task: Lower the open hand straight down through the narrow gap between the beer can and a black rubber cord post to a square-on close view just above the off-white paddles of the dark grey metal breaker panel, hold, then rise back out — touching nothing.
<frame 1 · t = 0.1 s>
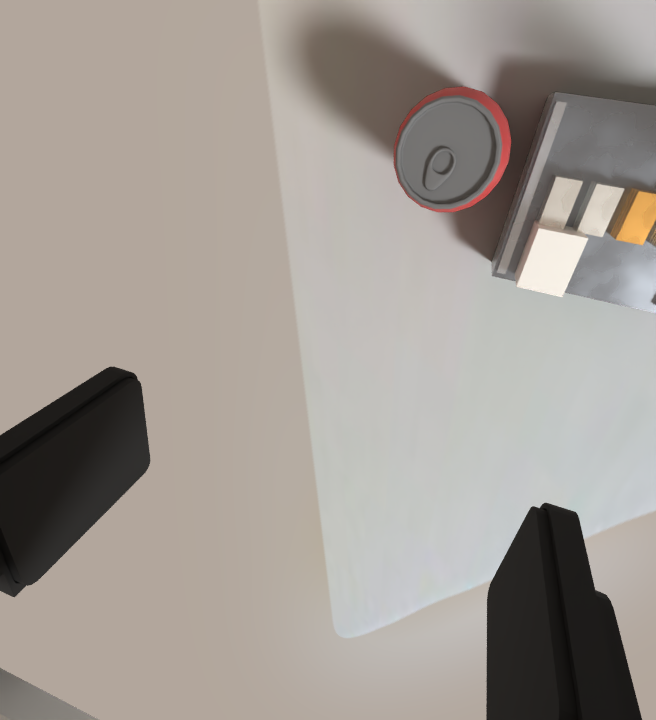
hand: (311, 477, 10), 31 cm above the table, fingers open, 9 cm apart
white block: (545, 252, 31), point 4 cm above the table, touching breaker panel
beer can: (459, 146, 33), on the table
breaker panel: (601, 201, 32), on the table
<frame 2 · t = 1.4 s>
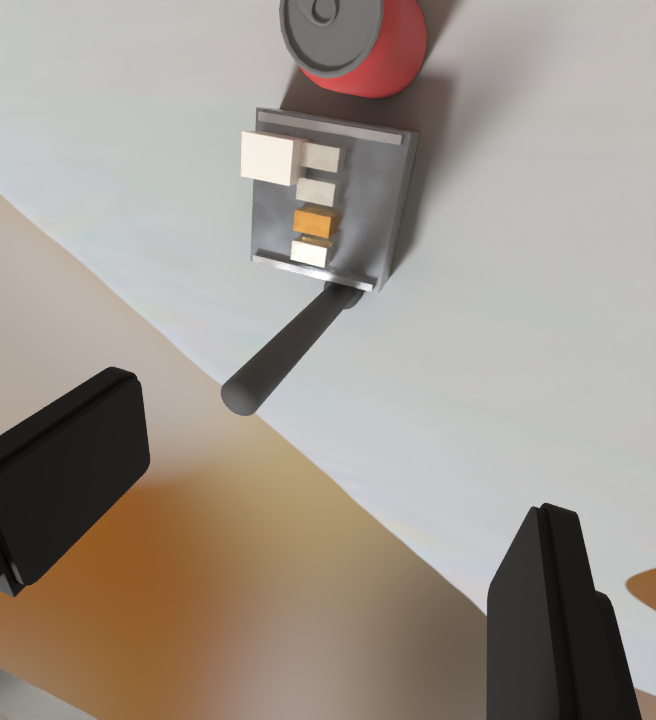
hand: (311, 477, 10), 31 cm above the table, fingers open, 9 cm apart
white block: (283, 156, 34), point 4 cm above the table, touching breaker panel
beer can: (383, 47, 32), on the table
cord post: (344, 288, 41), on the table
breaker panel: (336, 197, 38), on the table
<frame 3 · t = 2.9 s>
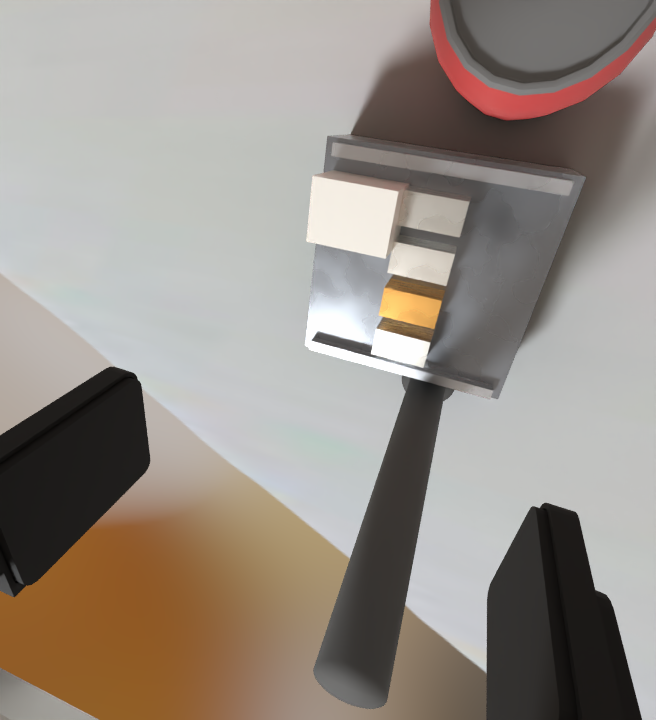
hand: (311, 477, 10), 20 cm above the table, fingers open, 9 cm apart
white block: (365, 207, 22), point 4 cm above the table, touching breaker panel
beer can: (525, 42, 21), on the table
cord post: (429, 375, 30), on the table
breaker panel: (428, 258, 26), on the table
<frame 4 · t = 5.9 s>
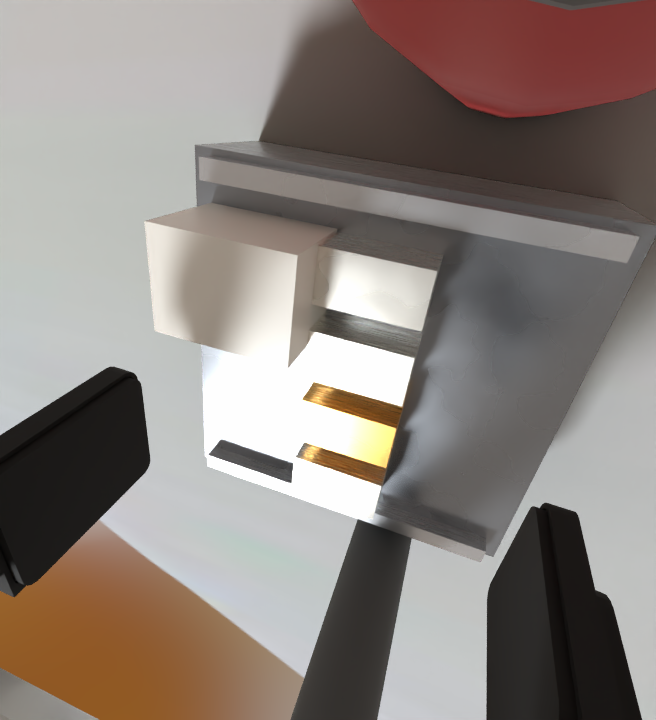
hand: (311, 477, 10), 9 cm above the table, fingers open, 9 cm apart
white block: (269, 265, 13), point 4 cm above the table, touching breaker panel
cord post: (395, 484, 21), on the table
breaker panel: (387, 328, 17), on the table
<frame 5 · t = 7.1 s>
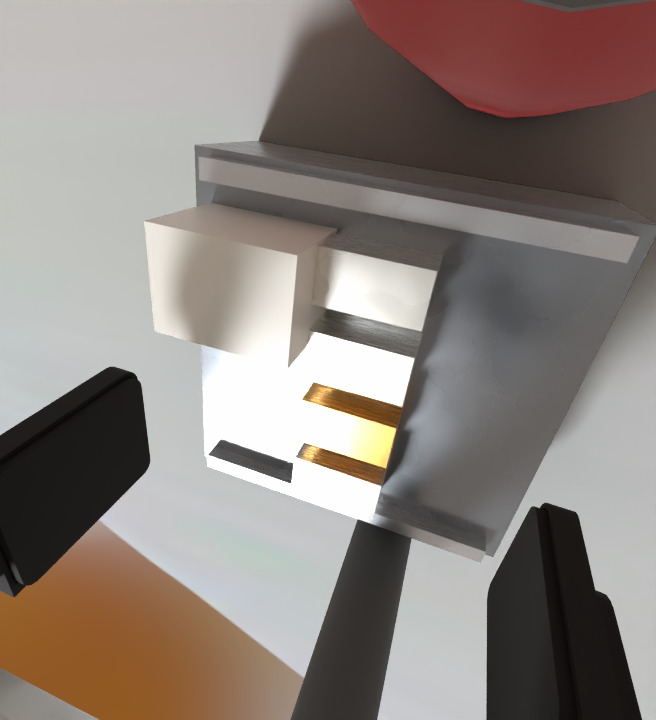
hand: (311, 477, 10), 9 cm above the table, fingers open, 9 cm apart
white block: (269, 265, 13), point 4 cm above the table, touching breaker panel
cord post: (395, 484, 21), on the table
breaker panel: (387, 328, 17), on the table
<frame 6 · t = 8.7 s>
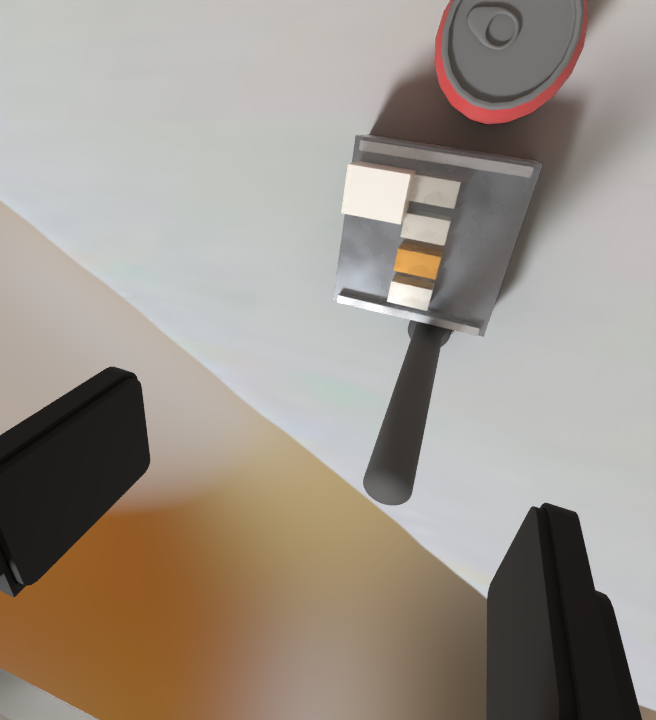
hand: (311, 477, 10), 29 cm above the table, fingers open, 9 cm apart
white block: (383, 188, 30), point 4 cm above the table, touching breaker panel
beer can: (500, 67, 28), on the table
cord post: (430, 326, 38), on the table
breaker panel: (429, 230, 34), on the table
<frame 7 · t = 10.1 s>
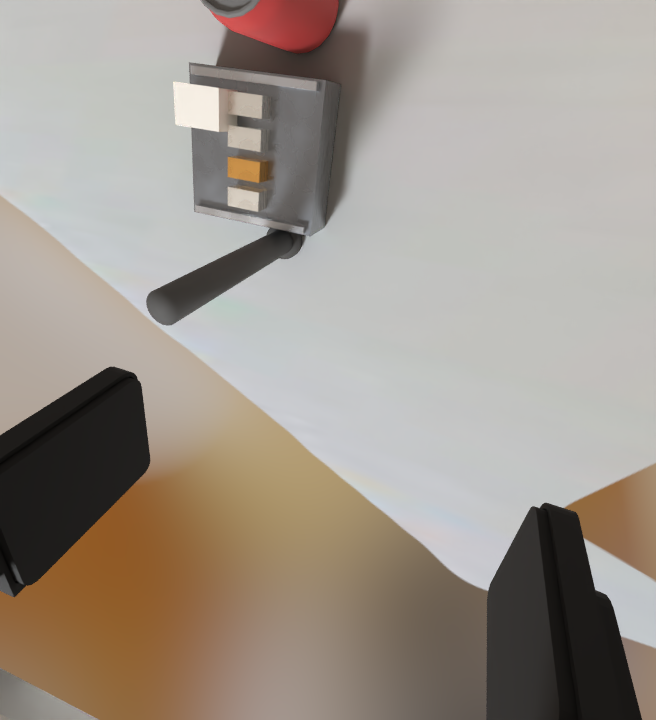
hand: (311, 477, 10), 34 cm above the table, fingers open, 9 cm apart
white block: (216, 108, 37), point 4 cm above the table, touching breaker panel
beer can: (303, 5, 35), on the table
cord post: (285, 239, 44), on the table
breaker panel: (271, 151, 41), on the table
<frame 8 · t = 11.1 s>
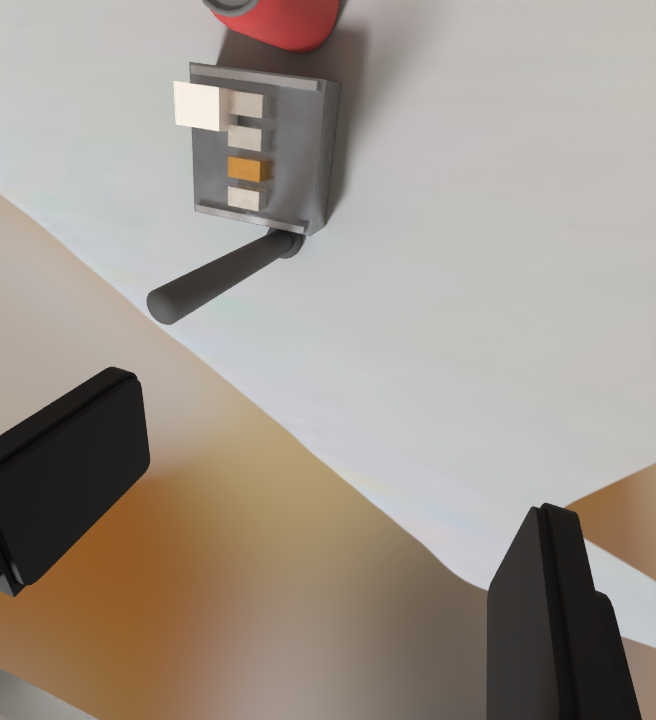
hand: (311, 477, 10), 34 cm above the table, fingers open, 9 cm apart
white block: (216, 107, 37), point 4 cm above the table, touching breaker panel
beer can: (303, 5, 35), on the table
cord post: (285, 239, 44), on the table
breaker panel: (272, 150, 41), on the table
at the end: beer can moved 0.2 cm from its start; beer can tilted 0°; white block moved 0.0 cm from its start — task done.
